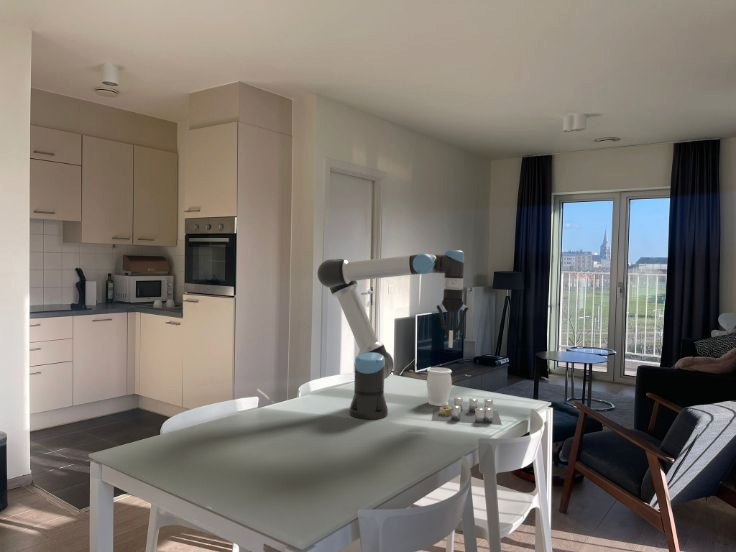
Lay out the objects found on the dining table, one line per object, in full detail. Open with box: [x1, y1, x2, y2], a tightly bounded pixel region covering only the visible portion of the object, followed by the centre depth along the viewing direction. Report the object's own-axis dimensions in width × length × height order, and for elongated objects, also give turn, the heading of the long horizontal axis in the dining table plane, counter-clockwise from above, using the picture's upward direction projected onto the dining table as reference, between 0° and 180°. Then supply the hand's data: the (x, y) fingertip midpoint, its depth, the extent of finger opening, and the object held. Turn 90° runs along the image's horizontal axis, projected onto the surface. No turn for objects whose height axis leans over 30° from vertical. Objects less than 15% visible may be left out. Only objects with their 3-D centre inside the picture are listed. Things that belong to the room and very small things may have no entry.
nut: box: [439, 406, 451, 416], centre depth 225 cm, size 4×5×2 cm
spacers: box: [450, 396, 494, 424], centre depth 223 cm, size 17×19×5 cm
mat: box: [431, 406, 503, 426], centre depth 224 cm, size 26×19×1 cm
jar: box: [426, 367, 453, 407], centre depth 242 cm, size 11×10×15 cm
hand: (450, 347), depth 230 cm, fingers closed
